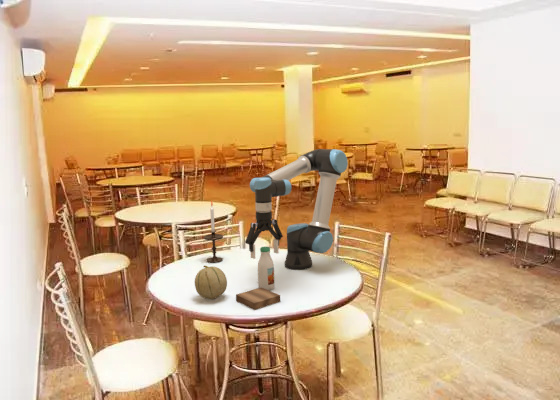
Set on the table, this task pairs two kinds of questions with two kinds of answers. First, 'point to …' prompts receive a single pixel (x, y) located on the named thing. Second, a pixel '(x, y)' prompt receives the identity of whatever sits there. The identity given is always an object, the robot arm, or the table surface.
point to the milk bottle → (265, 269)
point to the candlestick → (213, 239)
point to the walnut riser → (258, 298)
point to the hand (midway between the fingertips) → (264, 255)
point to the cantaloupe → (210, 282)
